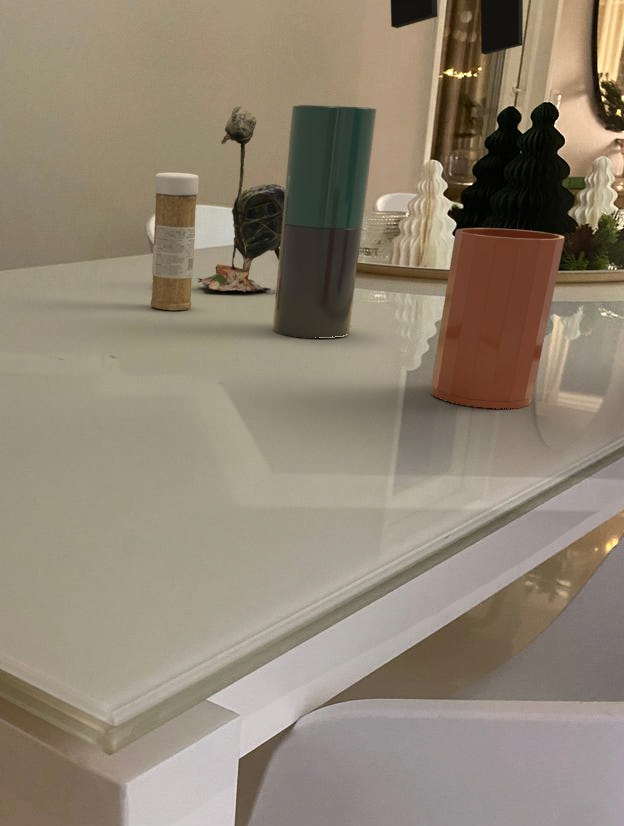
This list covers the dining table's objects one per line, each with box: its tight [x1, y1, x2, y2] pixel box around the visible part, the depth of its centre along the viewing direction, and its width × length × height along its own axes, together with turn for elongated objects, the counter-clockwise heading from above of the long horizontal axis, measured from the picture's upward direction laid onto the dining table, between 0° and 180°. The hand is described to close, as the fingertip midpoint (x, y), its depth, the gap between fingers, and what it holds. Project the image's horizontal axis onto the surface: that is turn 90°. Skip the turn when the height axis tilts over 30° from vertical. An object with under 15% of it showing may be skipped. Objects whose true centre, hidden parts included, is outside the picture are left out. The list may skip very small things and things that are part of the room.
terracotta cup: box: [430, 227, 566, 410], centre depth 79 cm, size 8×8×12 cm
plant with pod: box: [196, 105, 285, 293], centre depth 123 cm, size 8×11×20 cm
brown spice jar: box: [150, 172, 200, 311], centre depth 111 cm, size 5×5×13 cm
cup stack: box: [272, 104, 377, 339], centre depth 100 cm, size 8×8×20 cm
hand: (461, 37), depth 69 cm, fingers open, 13 cm apart
